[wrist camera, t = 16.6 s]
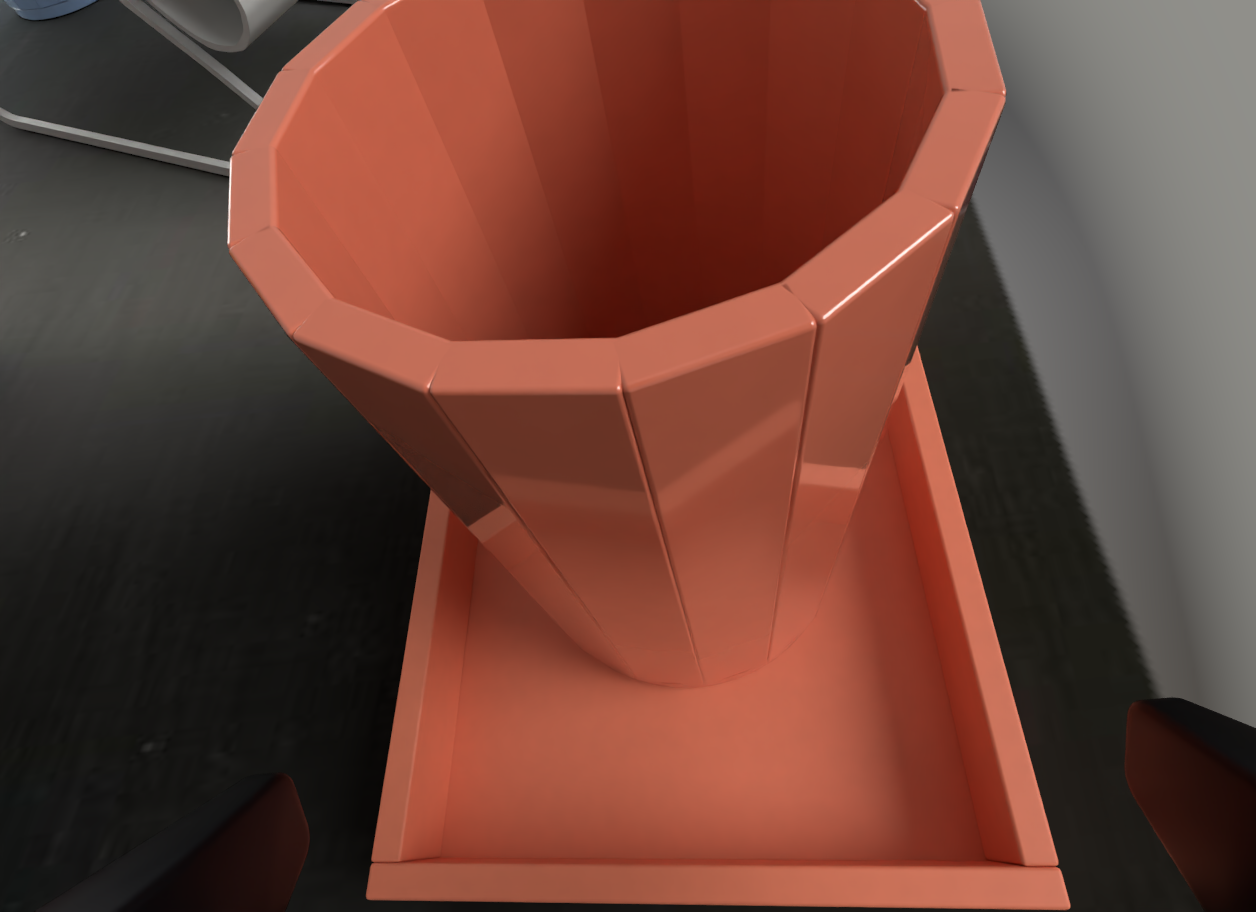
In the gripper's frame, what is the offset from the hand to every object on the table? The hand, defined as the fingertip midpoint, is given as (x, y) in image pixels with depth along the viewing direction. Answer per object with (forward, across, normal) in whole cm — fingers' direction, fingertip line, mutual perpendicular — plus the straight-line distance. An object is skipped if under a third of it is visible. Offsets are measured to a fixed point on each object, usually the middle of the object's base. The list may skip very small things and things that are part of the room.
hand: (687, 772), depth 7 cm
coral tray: (+10, 0, +2) cm, 10 cm away
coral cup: (+10, 0, +1) cm, 10 cm away
